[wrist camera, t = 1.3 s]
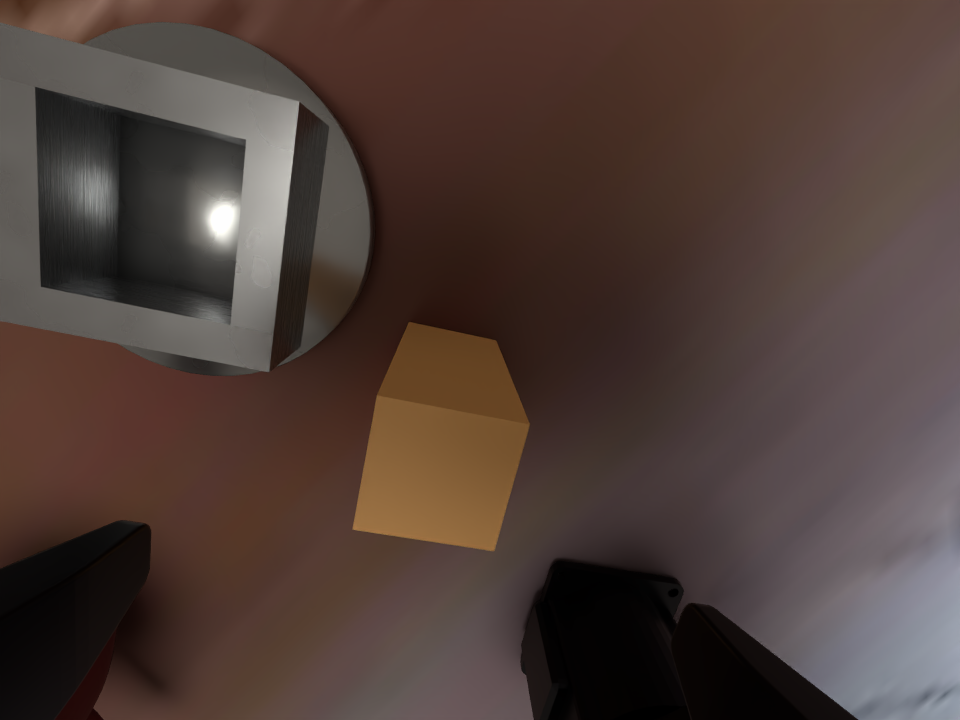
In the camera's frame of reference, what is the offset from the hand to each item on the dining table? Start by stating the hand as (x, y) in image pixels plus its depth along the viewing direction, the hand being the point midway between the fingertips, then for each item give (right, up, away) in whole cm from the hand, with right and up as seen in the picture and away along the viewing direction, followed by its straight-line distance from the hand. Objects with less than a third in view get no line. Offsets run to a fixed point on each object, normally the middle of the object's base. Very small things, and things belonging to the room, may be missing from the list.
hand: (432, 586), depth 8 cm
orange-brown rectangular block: (-1, +3, +11) cm, 11 cm away
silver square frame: (-8, +9, +9) cm, 15 cm away
